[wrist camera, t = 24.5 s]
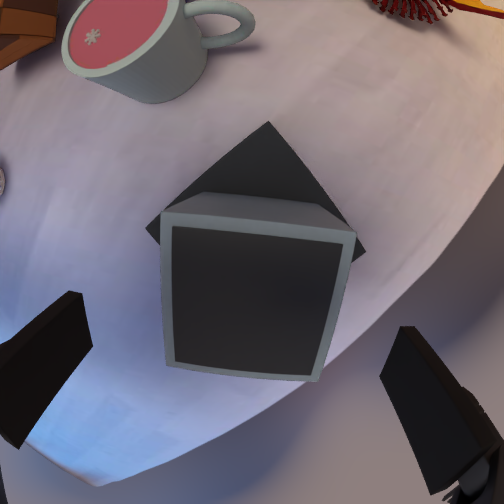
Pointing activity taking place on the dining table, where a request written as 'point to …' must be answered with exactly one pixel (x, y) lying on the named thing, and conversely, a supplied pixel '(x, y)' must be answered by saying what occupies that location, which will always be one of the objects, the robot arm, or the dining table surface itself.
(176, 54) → the mug
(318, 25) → the dining table surface
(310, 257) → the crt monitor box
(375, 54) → the dining table surface
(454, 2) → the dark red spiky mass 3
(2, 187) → the cup
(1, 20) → the brown boxy piece
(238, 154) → the mat
